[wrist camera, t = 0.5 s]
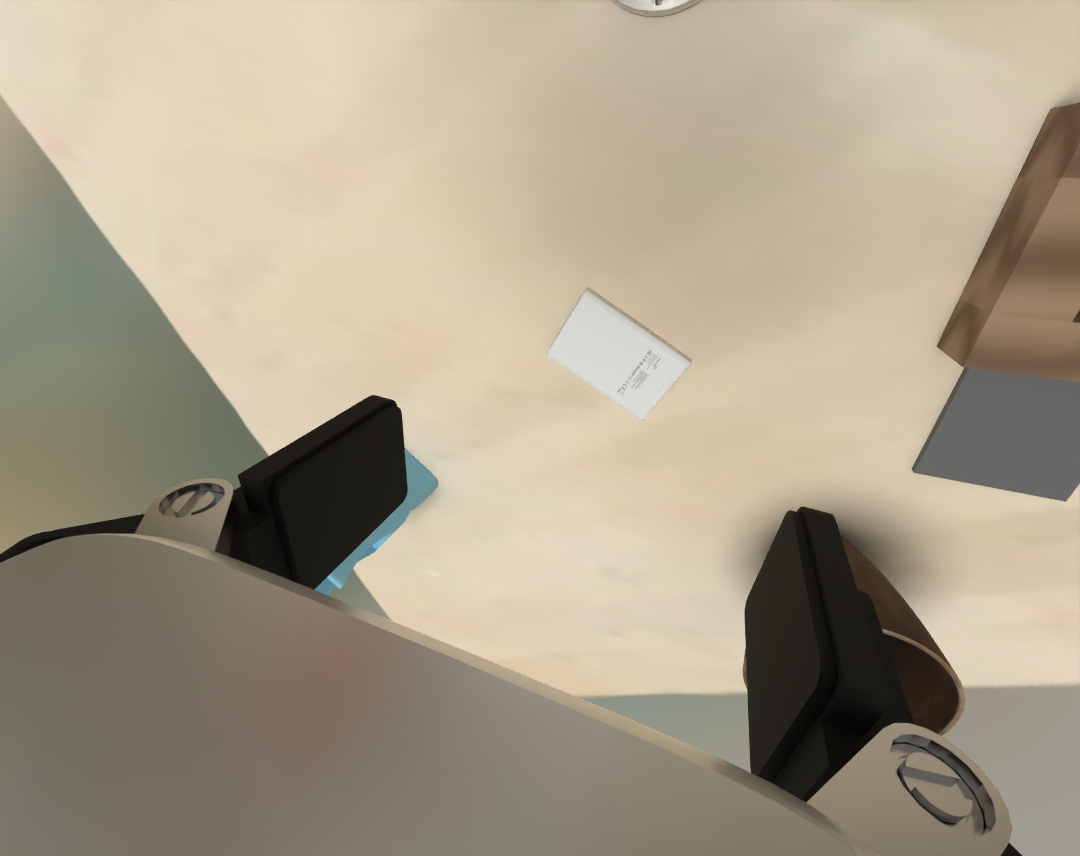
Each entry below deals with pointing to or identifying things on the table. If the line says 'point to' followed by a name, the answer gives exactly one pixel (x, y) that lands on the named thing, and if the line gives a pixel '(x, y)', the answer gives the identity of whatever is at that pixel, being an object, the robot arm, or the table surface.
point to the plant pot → (909, 651)
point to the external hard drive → (617, 355)
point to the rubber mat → (1008, 434)
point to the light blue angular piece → (386, 522)
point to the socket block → (1029, 269)
